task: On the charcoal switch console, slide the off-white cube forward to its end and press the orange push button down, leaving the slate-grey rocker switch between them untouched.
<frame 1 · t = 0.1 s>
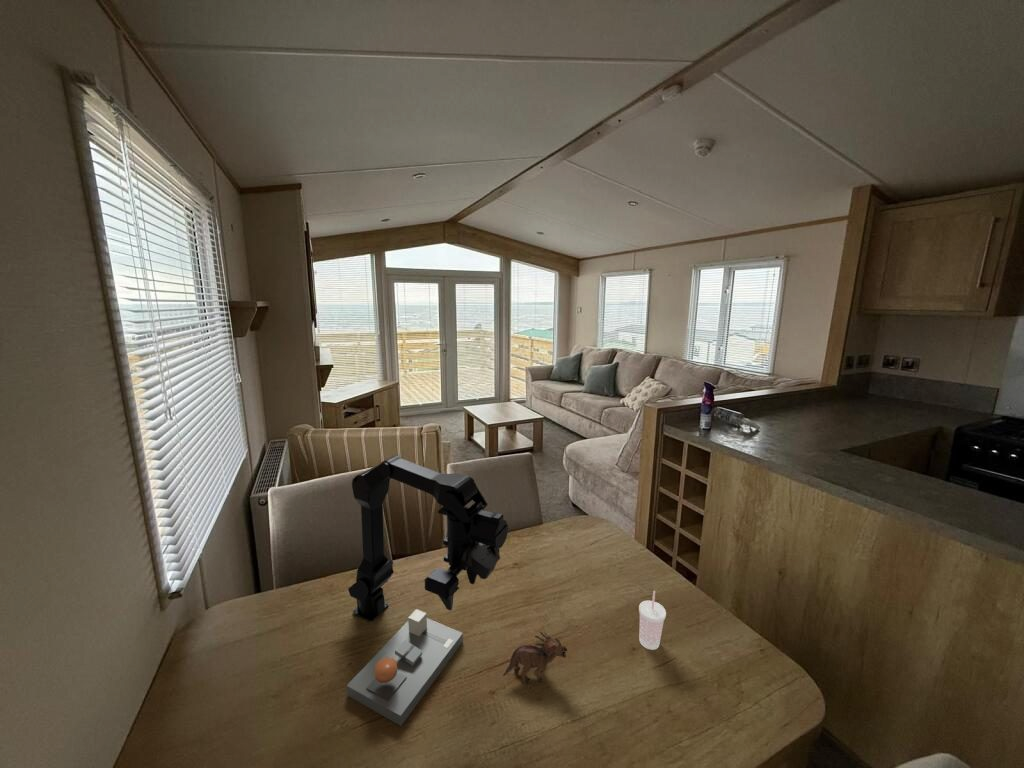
hand: (461, 596, 94), 15 cm above the table, tool pointing down, fingers open, 9 cm apart
off-white cube: (417, 622, 99), point 5 cm above the table, slide at 0.0 cm
beverage cup: (649, 642, 100), on the table
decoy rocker: (408, 652, 92), point 4 cm above the table, hinge at 10.0°
switch console: (409, 666, 93), on the table
dinosaur figurine: (532, 672, 92), on the table
push button: (386, 671, 85), point 5 cm above the table, slide at 0.0 cm
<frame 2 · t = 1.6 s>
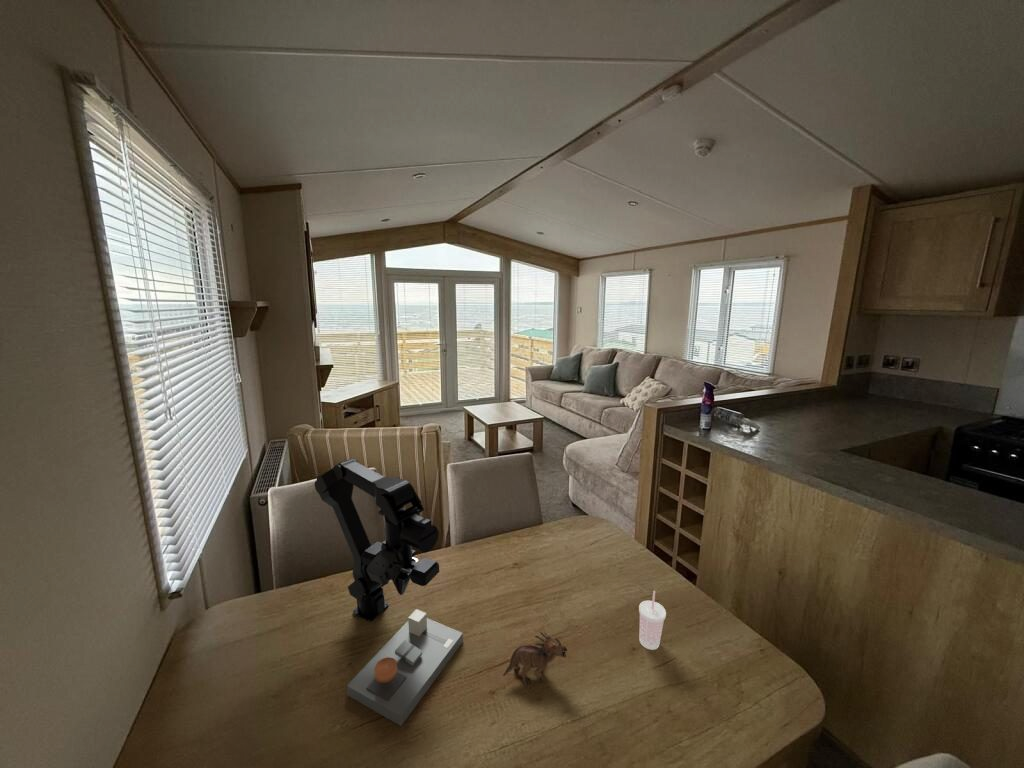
hand: (401, 593, 100), 11 cm above the table, tool pointing down, fingers closed
nothing on the table moved.
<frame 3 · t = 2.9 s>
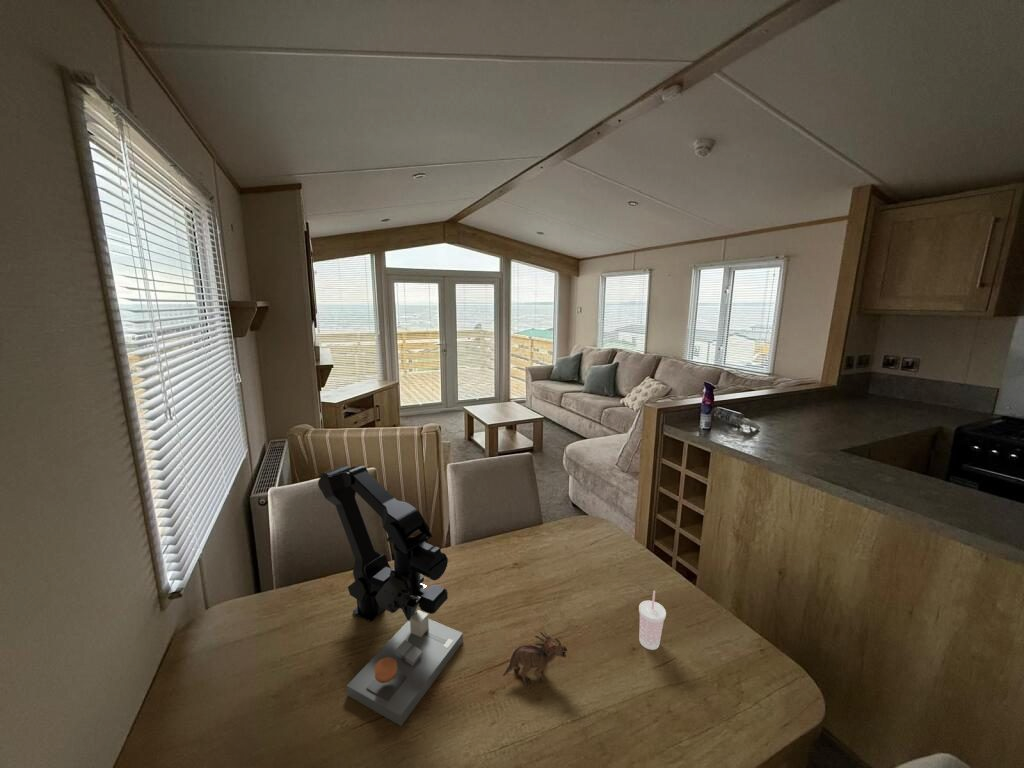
hand: (409, 619, 100), 5 cm above the table, tool pointing down, fingers closed
off-white cube: (419, 623, 99), point 5 cm above the table, slide at 0.5 cm, touching gripper
everything else where it was.
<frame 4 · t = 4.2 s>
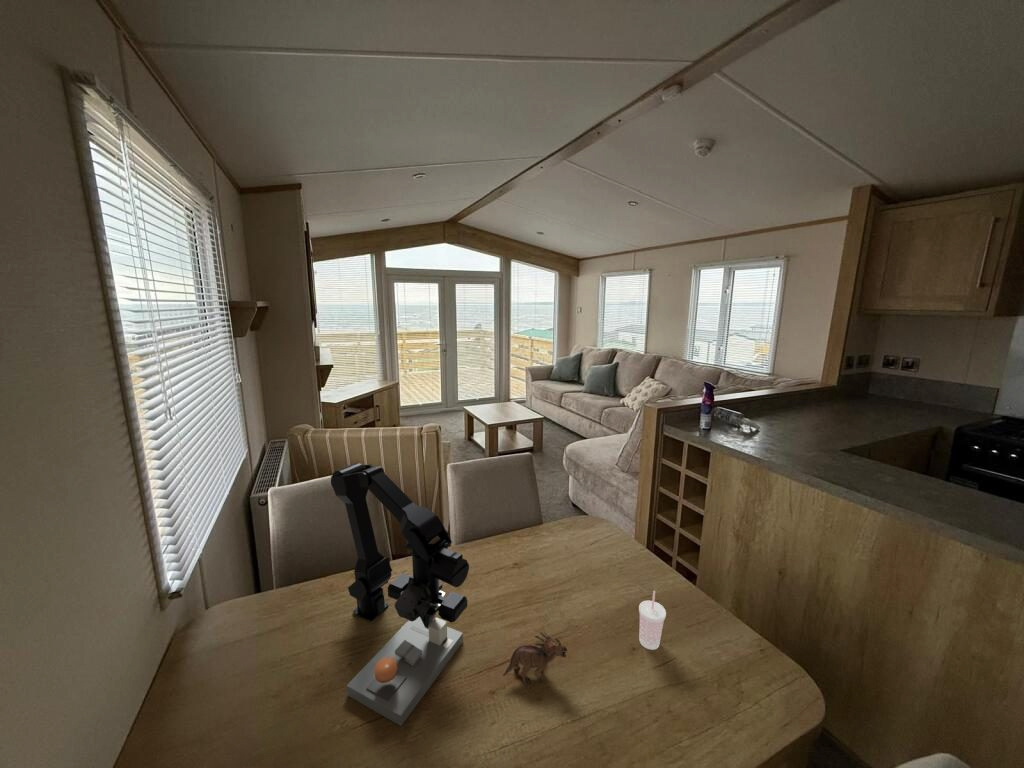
hand: (427, 627, 98), 5 cm above the table, tool pointing down, fingers closed
off-white cube: (437, 631, 97), point 5 cm above the table, slide at 5.8 cm, touching gripper
everything else where it was.
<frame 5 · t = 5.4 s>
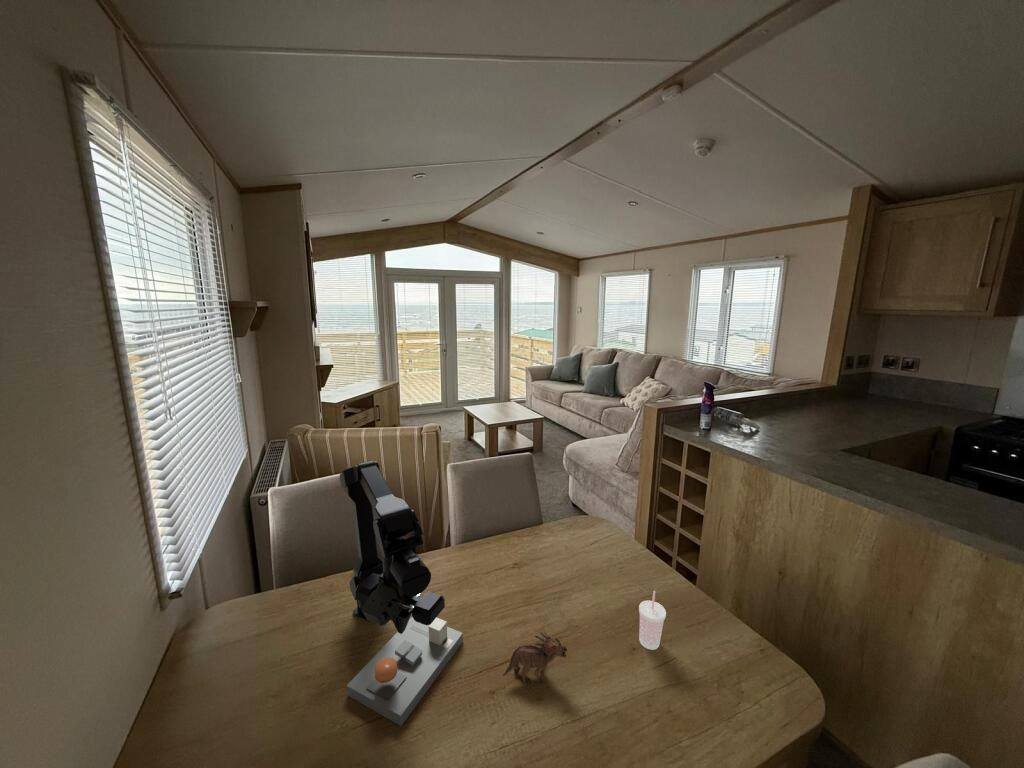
hand: (401, 632, 88), 11 cm above the table, tool pointing down, fingers closed
off-white cube: (438, 631, 97), point 5 cm above the table, slide at 5.8 cm
everything else where it was.
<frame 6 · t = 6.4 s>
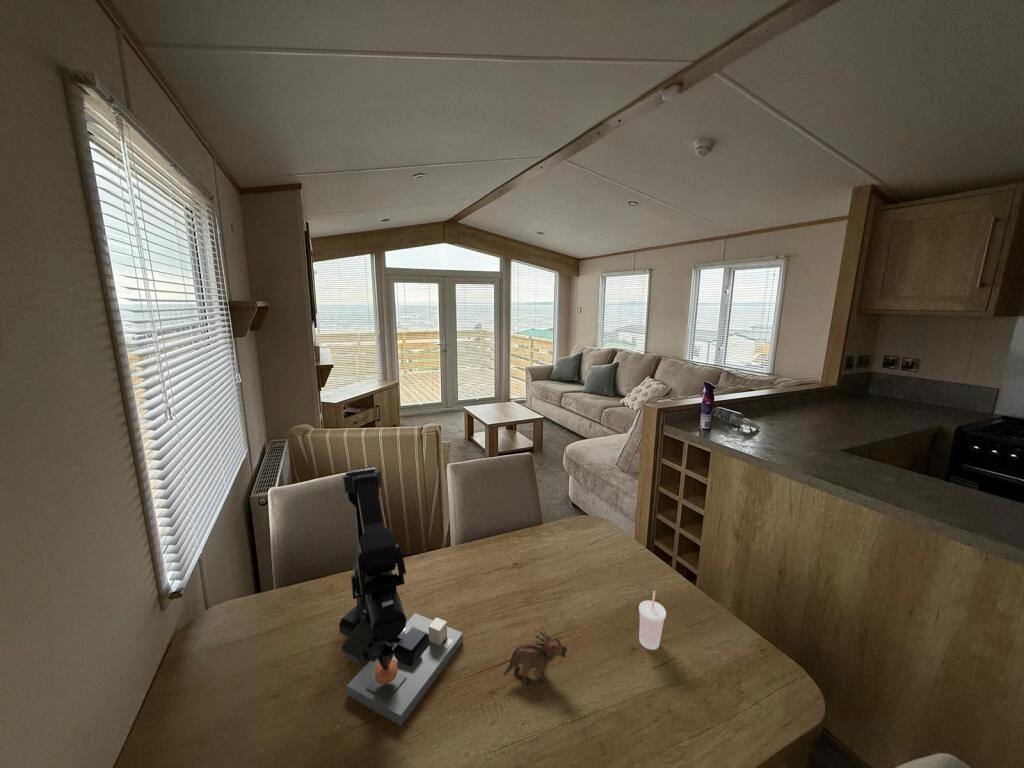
hand: (385, 667, 85), 6 cm above the table, tool pointing down, fingers closed, pressing on push button
push button: (386, 672, 85), point 5 cm above the table, slide at 0.3 cm, touching gripper
everything else where it was.
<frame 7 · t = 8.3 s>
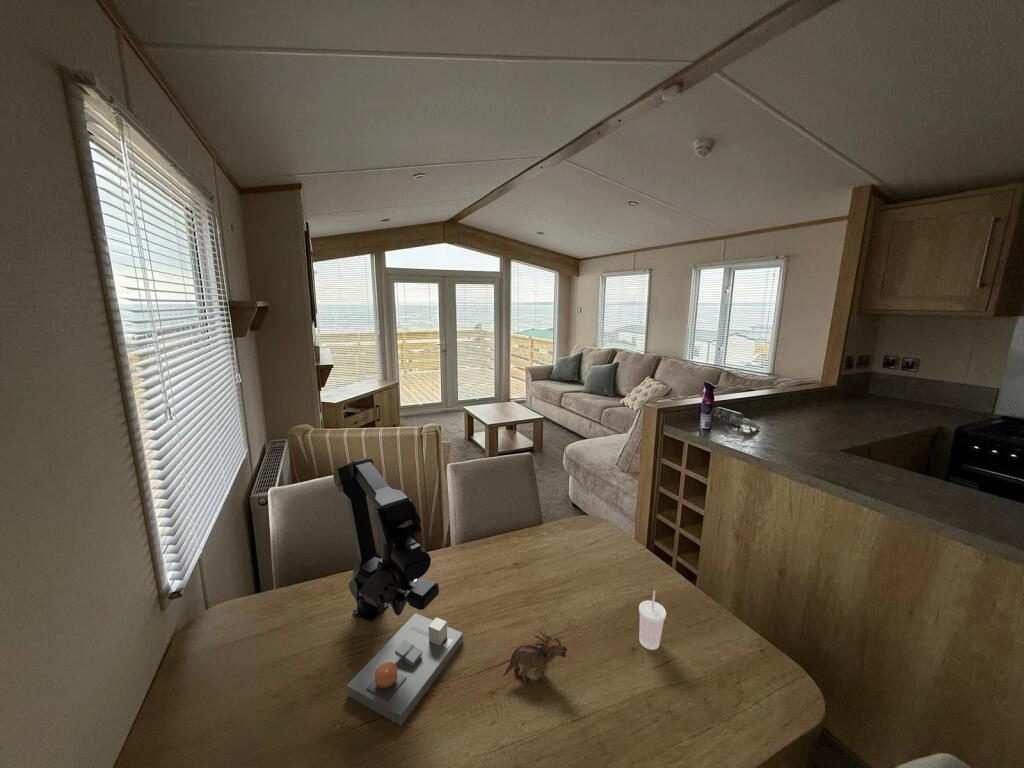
hand: (398, 614, 93), 11 cm above the table, tool pointing down, fingers closed
push button: (386, 676, 85), point 4 cm above the table, slide at 1.2 cm
everything else where it was.
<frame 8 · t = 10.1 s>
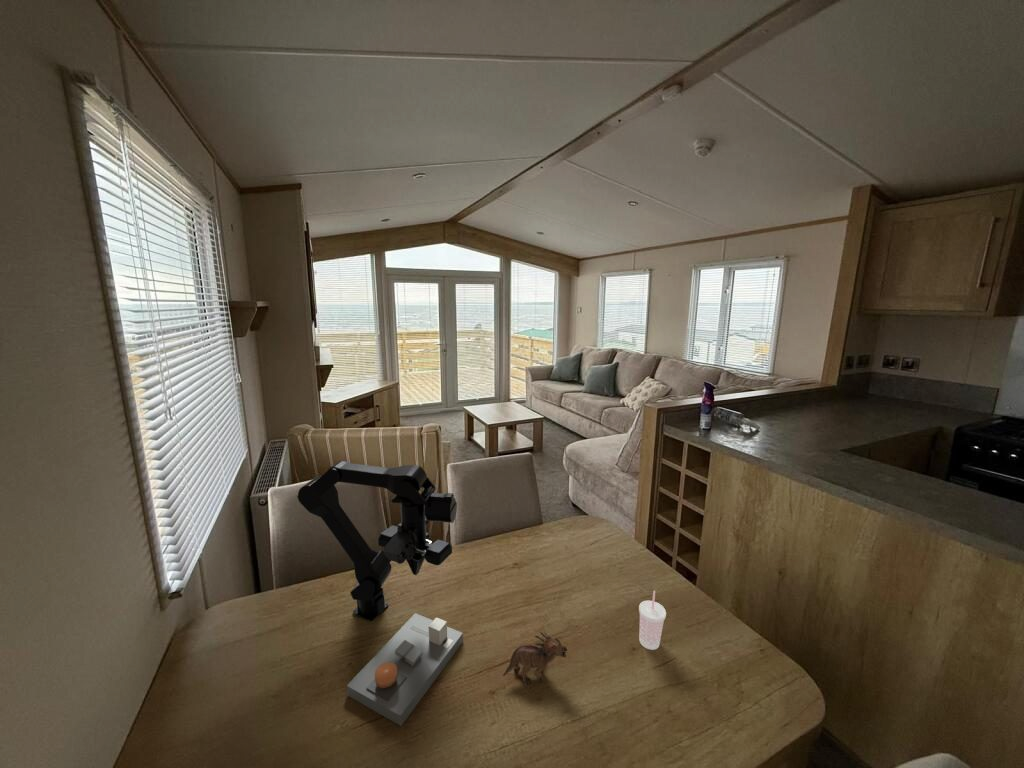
hand: (415, 574, 105), 12 cm above the table, tool pointing down, fingers closed
nothing on the table moved.
at the end: off-white cube slide at 5.8 cm; push button slide at 1.2 cm; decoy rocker at +10° (first picture: +10°) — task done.
